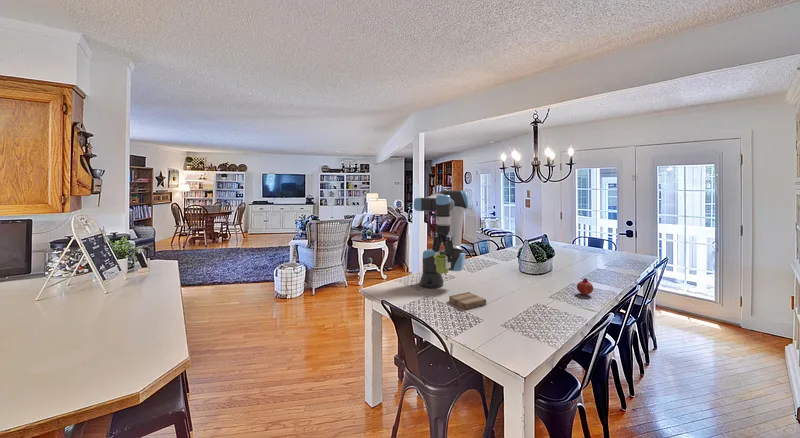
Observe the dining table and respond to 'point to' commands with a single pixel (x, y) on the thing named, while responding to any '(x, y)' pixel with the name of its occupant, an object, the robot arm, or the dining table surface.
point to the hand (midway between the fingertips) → (442, 265)
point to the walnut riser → (467, 300)
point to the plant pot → (441, 264)
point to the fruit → (585, 287)
